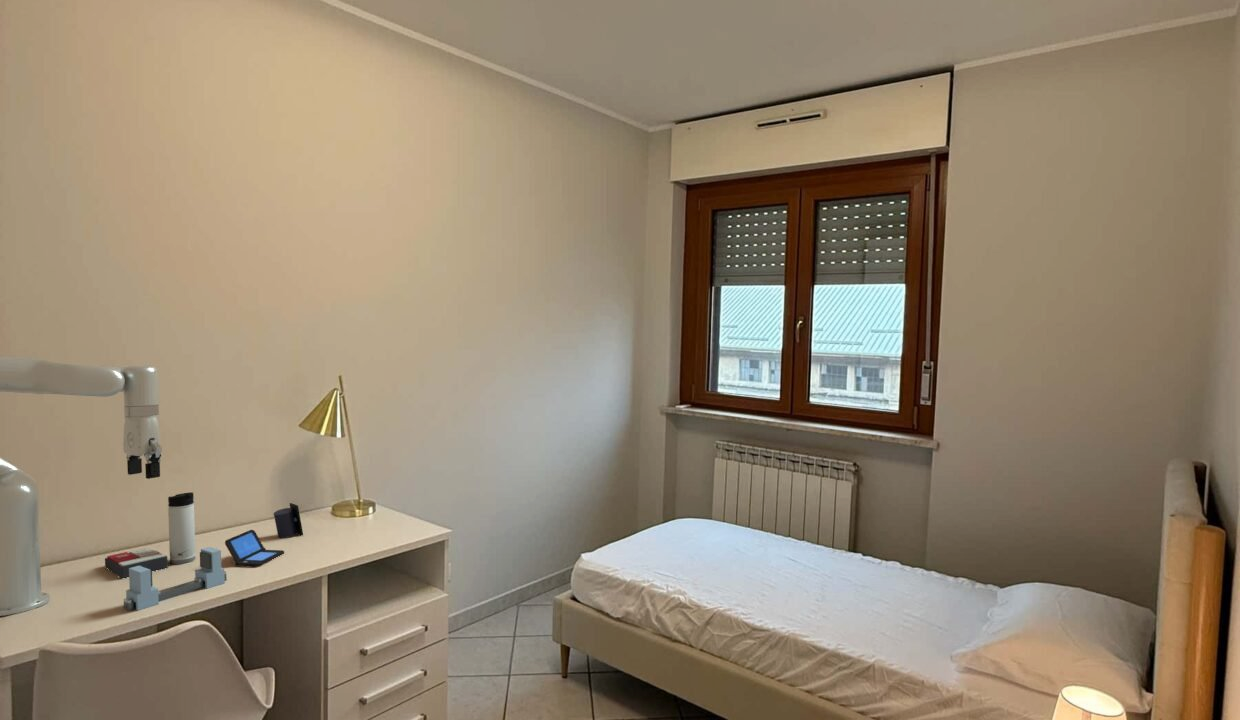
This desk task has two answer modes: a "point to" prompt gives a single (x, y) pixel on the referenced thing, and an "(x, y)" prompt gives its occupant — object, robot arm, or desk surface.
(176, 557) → the travel mug
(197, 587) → the rail
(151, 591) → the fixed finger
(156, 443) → the robot arm
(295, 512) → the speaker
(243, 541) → the handheld game console
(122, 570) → the calculator
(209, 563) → the notched grey block
